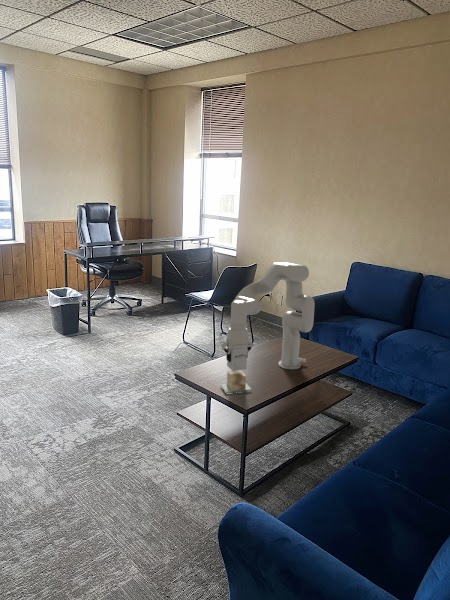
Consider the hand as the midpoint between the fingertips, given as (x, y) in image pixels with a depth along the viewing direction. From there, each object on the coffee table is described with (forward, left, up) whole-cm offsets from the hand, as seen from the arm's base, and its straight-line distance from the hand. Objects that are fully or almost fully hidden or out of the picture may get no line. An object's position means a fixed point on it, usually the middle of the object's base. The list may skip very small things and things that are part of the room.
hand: (236, 360), depth 229 cm
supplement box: (0, 0, -4) cm, 4 cm away
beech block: (0, 0, -14) cm, 14 cm away
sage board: (0, 0, -16) cm, 16 cm away
